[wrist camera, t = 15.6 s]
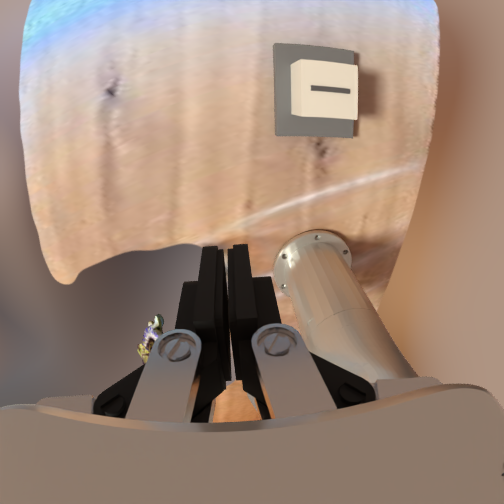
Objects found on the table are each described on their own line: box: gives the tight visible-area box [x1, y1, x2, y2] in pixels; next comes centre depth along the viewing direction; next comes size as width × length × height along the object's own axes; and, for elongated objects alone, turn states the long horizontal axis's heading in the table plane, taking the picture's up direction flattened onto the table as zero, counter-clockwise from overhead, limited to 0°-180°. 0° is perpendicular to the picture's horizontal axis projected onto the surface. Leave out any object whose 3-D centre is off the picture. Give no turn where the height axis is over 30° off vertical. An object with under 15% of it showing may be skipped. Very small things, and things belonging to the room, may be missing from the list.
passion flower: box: [137, 314, 164, 365], centre depth 46 cm, size 11×11×12 cm
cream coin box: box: [291, 59, 358, 120], centre depth 27 cm, size 6×6×5 cm
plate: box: [273, 43, 354, 138], centre depth 30 cm, size 12×10×2 cm
